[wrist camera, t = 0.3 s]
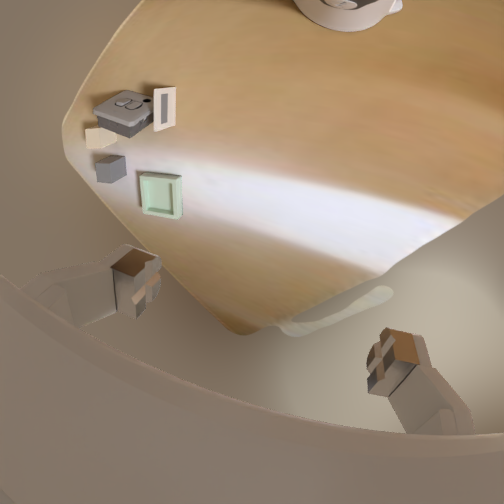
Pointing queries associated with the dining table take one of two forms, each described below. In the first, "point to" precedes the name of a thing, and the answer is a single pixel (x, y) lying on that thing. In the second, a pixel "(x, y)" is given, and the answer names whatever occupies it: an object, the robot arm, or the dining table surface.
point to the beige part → (99, 137)
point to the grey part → (110, 169)
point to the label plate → (164, 108)
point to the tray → (161, 195)
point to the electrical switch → (125, 113)
